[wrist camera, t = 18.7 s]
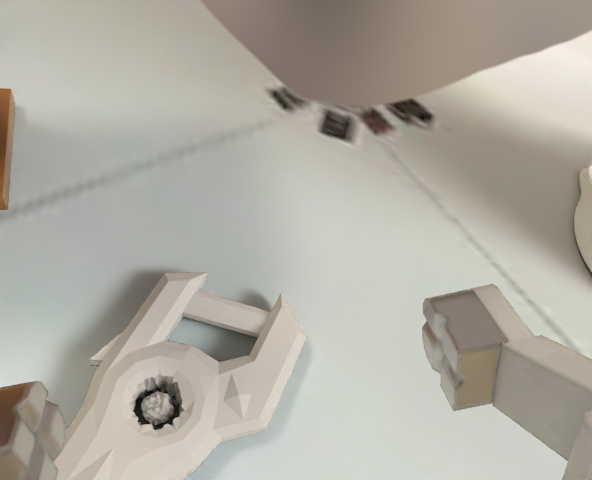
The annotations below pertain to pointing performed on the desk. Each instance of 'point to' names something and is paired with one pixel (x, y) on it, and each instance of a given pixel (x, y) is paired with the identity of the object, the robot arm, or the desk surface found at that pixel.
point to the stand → (6, 143)
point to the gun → (178, 387)
